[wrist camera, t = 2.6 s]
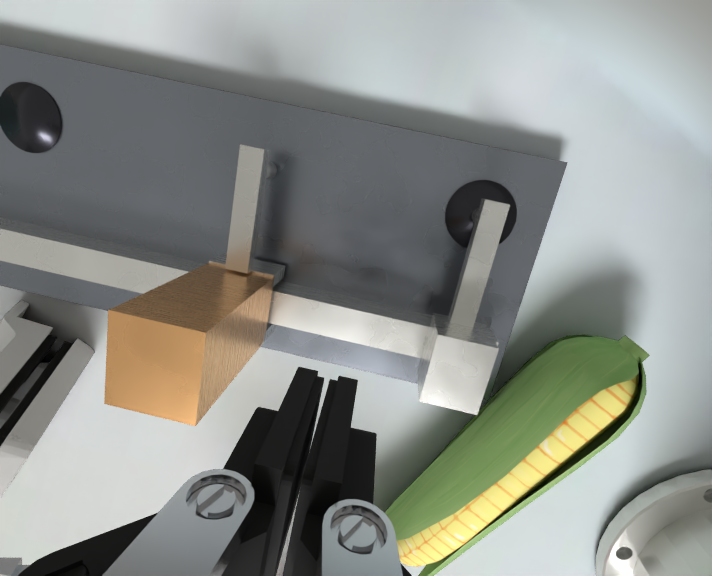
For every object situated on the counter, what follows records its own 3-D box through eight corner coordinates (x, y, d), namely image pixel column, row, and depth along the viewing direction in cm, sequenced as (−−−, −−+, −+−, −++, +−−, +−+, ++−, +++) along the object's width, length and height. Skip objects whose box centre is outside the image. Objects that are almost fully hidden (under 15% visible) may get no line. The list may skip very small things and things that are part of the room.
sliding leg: (302, 157, 19) (226, 145, 11) (275, 329, 22) (195, 428, 13) (239, 143, 19) (116, 121, 11) (219, 315, 22) (104, 406, 13)
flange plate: (559, 163, 20) (568, 162, 18) (484, 390, 23) (489, 401, 22) (-49, 36, 21) (-73, 28, 20) (-36, 268, 24) (-56, 273, 23)
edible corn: (647, 356, 22) (708, 403, 17) (395, 574, 27) (394, 651, 23) (572, 294, 21) (617, 325, 17) (332, 527, 27) (318, 597, 22)
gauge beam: (528, 207, 19) (566, 218, 15) (477, 370, 22) (496, 419, 17) (-49, 84, 20) (-169, 60, 16) (-39, 250, 23) (-141, 268, 18)
